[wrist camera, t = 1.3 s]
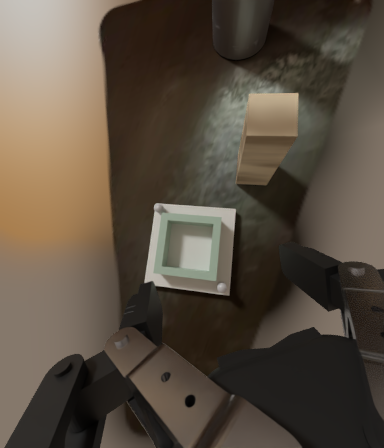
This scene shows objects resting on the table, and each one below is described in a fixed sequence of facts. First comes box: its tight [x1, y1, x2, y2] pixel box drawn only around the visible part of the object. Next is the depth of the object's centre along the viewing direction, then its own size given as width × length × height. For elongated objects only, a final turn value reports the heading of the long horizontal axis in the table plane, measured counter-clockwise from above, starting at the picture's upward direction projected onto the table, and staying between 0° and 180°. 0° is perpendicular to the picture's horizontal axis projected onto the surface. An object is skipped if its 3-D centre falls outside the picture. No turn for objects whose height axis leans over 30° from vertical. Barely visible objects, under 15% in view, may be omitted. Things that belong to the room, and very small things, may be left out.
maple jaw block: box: [236, 93, 298, 185], centre depth 25 cm, size 4×4×12 cm
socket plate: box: [145, 203, 236, 296], centre depth 28 cm, size 12×12×4 cm
